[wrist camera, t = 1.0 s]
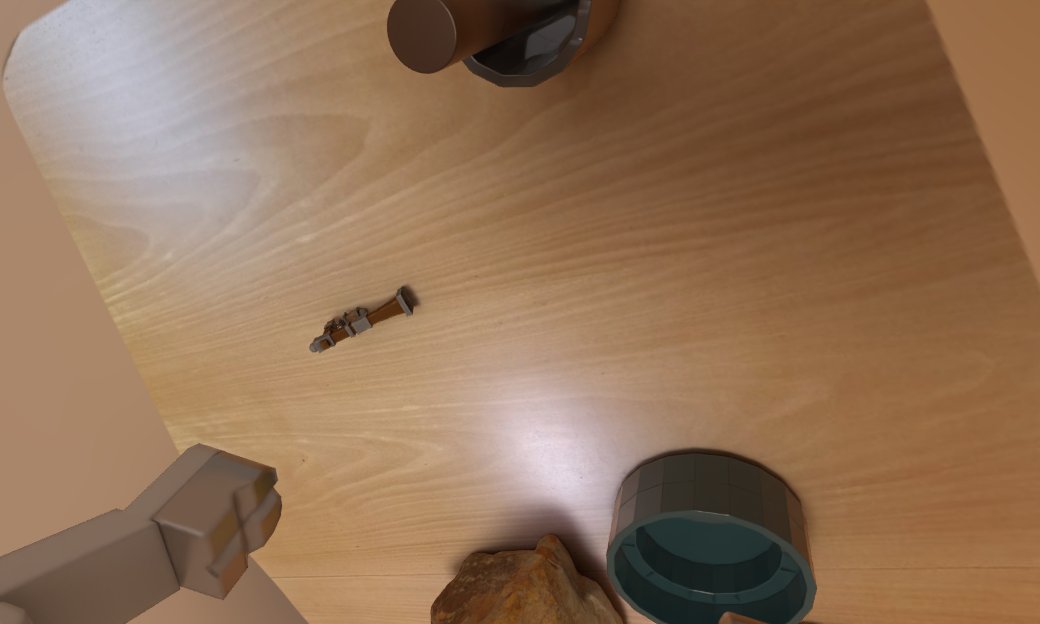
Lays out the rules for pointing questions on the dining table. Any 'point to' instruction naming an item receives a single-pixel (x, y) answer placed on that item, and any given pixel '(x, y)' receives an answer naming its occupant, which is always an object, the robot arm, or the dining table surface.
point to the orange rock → (523, 590)
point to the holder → (544, 46)
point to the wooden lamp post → (361, 321)
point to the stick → (460, 27)
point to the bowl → (710, 543)
